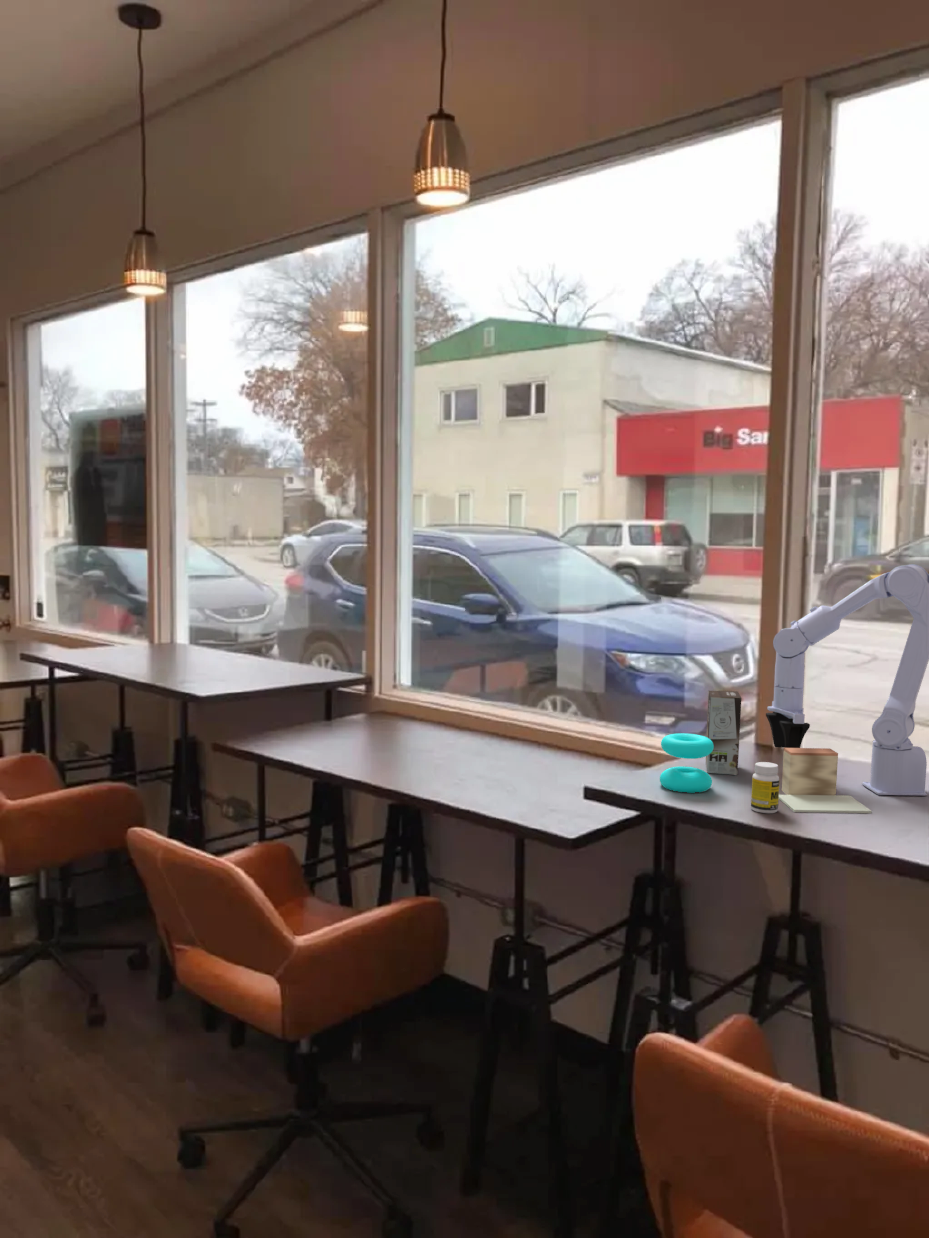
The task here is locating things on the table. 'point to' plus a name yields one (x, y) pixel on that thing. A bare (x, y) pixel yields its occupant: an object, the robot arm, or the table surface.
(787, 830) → the table surface
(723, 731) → the coffee box
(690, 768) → the donuts
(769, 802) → the supplement bottle
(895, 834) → the table surface
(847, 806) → the green board
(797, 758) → the birch slab
